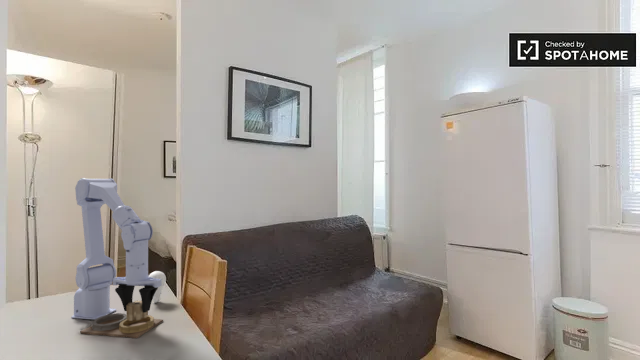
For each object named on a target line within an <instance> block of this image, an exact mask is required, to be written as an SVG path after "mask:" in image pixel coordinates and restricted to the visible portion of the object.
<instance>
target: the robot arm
mask: <svg viewBox="0 0 640 360" xmlns="http://www.w3.org/2000/svg"><path fill="white" fill-rule="evenodd" d="M74 187H75V188H74V189H75V200H76V204H77V206H80V207H81V213H82V214H81V215H82V226H83V235H84V247H85V250H84V251H85V258H84V259H83V260H82V261H81V262H80V263H78V264H77V266H76V274H75V283H76V286H77V287H78V289H77V290H76V291H75V292H74V296H73V315H71V317H70V318H71V319H84V320H93V321H94V320H95V319H97V318H99V317H101V316H105V315H109V314H113V313H114V312H116V311H117V308H111V307H110V304H111V303H110V302H111V301H110V300H111V296H110V295H111V290H110V289H111V288H110V287H111V286H118V287H116V288H115V289H114V292H115V293H116V295H118V297H119V299H120V301H121V303H122V307H123V309H124V310H123V311H124V312H126V305H128V303H130V302H133V296H134V291H135V287H137V286H138V287H142V288H140V289H138V292H139V294H140V298H141V300H142V311H143V312H147V311H148V312H149V311H150V309H151V305H152V302H153V296H154V294H155V292H156V290H157V289H158V287H160V286H161V285H162V279H157V278H152V277H149V275H150V274H149V241H150V240H151V239H152V238H153V233H154V231H153V227H152V225H151V223H150V222H149V221H148V220H144V219H141V218H140V216H138V214H137V212H135V211H134V209H133V208H132V207H131V206H130V205H125V204H124V202H123V200H122V198H121V197H120V195H119V193H118V183H117V182H116V180H115V179H114V178H111V177H110V178H86V177H82V178H80V179H79V180H78V181H77V182H76V185H75V186H74ZM103 205H106V206H107V207H108V208H109V209H110V210H111V211H112V214H111V217H112V220H114V222H115V224H116V225H117V227H118V228H119V229H120V230H121V233H120V236H121V240H122V242H123V248H124V249H123V250H125V276H117V269H116V266H115V264H114V259H113V258H111V257H109V256H107V255H106V254H105V253H106V252H105V242H104V233H103V232H104V231H103V223H102V211H101V208H102V207H103Z"/></svg>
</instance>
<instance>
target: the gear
mask: <svg viewBox="0 0 640 360" xmlns="http://www.w3.org/2000/svg"><path fill="white" fill-rule="evenodd" d="M125 312H126V315H127V320H129V321H133V320H136V321H137V320H140V319H142V318H146V317H147V316H148V315H149V311H147V312H143V311H142V299H141V300H139V299H138V300H134V301H132V302H130V303H128V305H126V311H125Z"/></svg>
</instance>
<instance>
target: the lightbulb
mask: <svg viewBox="0 0 640 360" xmlns="http://www.w3.org/2000/svg"><path fill="white" fill-rule="evenodd" d="M148 275H149V277H152V278H157V279H162V285H161V286H160V287H158V289H157V290H156V292H155V294H154V296H153V299H152V302H154V303H158V302H159V301H160V300H161V299H162V298H161V295H162V293H163V287H164V286H165V283H166V281H167V277H166V275H165V273H164V272H163V271H160V270H155V271H153V272H151V273H149V274H148Z"/></svg>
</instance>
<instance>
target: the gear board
mask: <svg viewBox="0 0 640 360" xmlns="http://www.w3.org/2000/svg"><path fill="white" fill-rule="evenodd" d="M162 323H164V319H160V318H155V317H154V316H153V315H150V314H148V316H147V317H146V318H142V319H140V320H137V321H136V320H133V321H129V320H127V313H121V312H120V313H119V312H117V313H110V314H108V315H105V316H101V317H99V318H97V319H95V320H94V319H93V321H92V322H91V325H90V326H89V327H86V328H85V329H82V330H81V331H80V334H81V335H93V336H105V337H116V338H117V337H118V338H129V339H131V338H132V339H139V338H140V337H141V336H143V335H144V334H146V333H147V332H150V331H151V330H153V329H154V328H155V327H157V326H159V325H160V324H162Z"/></svg>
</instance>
